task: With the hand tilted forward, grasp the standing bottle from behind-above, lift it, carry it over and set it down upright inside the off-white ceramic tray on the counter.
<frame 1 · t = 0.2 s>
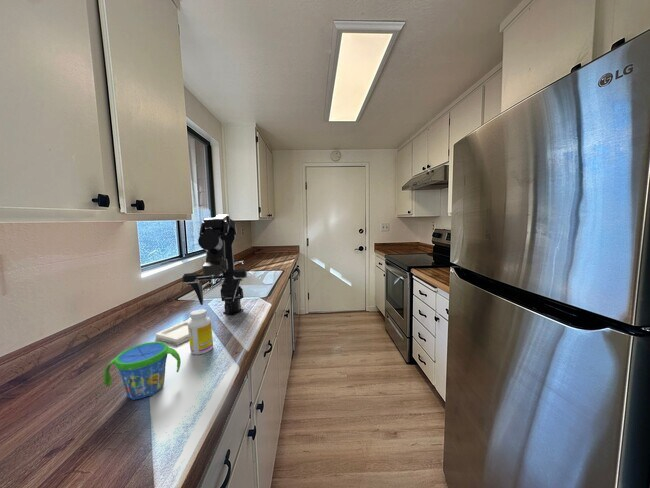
hand: (217, 303, 80), 15 cm above the worktop, tool tilted 15°, fingers open, 9 cm apart
supplement bottle: (202, 350, 81), on the worktop
snack cup: (146, 391, 62), on the worktop
tray: (182, 334, 93), on the worktop
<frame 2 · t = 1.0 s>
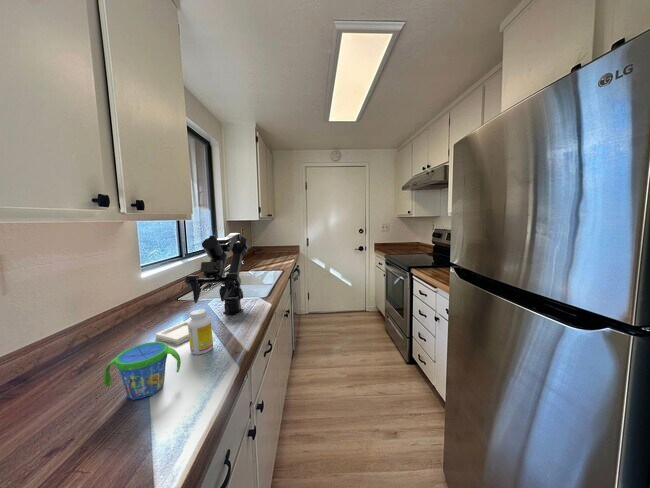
hand: (208, 301, 88), 13 cm above the worktop, tool tilted 45°, fingers open, 9 cm apart
nothing on the worktop moved.
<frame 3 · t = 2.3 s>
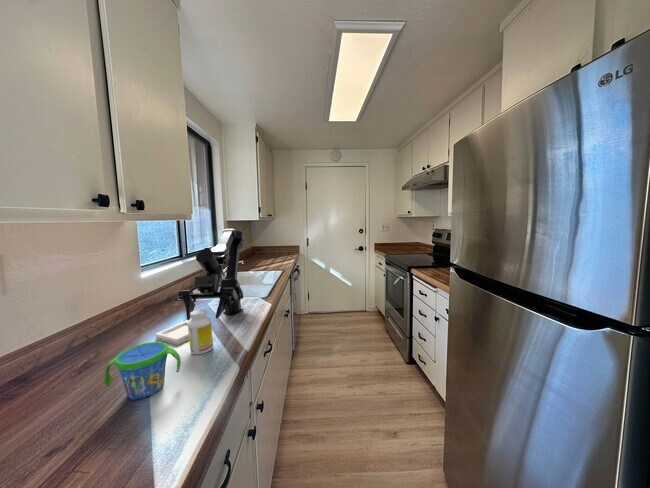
hand: (202, 319, 82), 9 cm above the worktop, tool tilted 45°, fingers open, 9 cm apart
nothing on the worktop moved.
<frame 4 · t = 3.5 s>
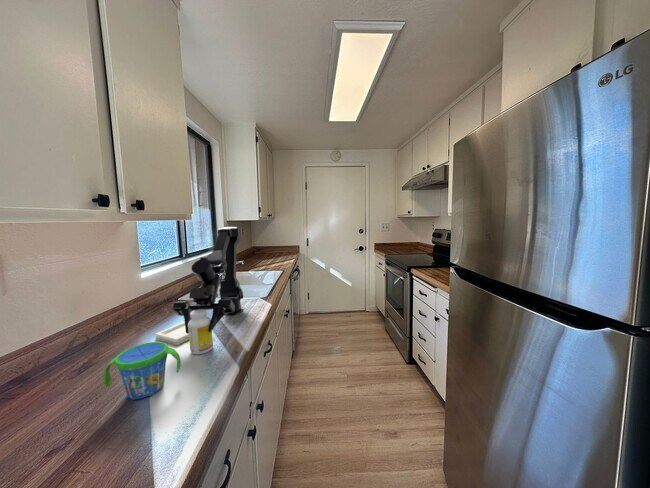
hand: (198, 332, 79), 7 cm above the worktop, tool tilted 45°, fingers closed on supplement bottle, 7 cm apart
supplement bottle: (202, 350, 81), on the worktop, touching gripper
everything else where it was.
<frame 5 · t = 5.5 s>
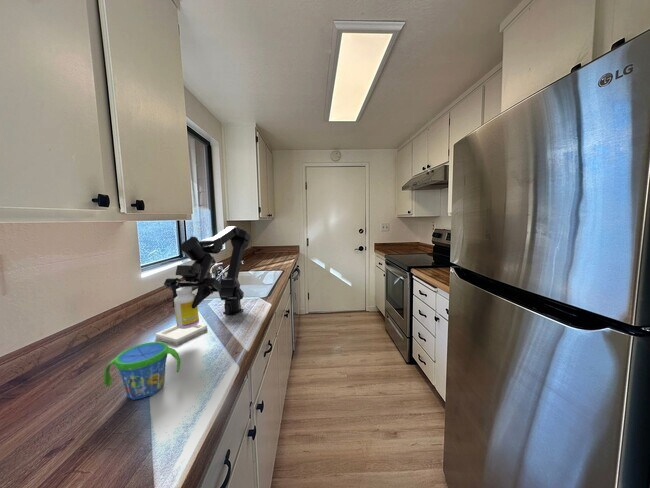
hand: (183, 307, 83), 13 cm above the worktop, tool tilted 45°, fingers closed on supplement bottle, 7 cm apart
supplement bottle: (188, 325, 85), point 7 cm above the worktop, touching gripper
everything else where it was.
when the fingers open (9 cm above the worktop, at t = 7.5 s): supplement bottle drops 1 cm, resting on tray.
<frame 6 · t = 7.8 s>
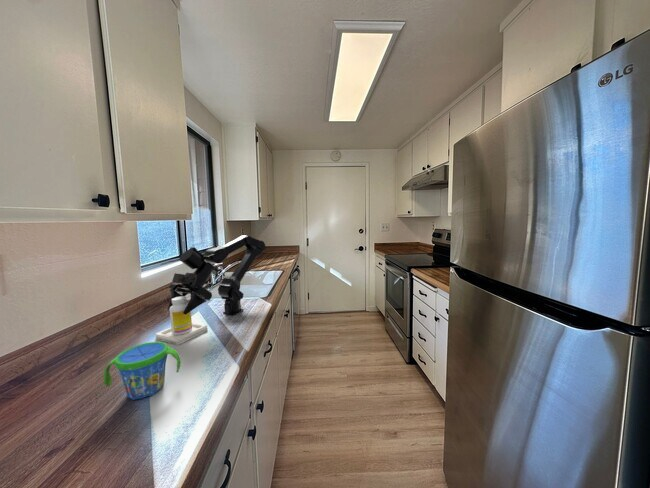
hand: (176, 312, 91), 9 cm above the worktop, tool tilted 45°, fingers open, 9 cm apart
supplement bottle: (182, 332, 93), point 1 cm above the worktop, touching tray
everything else where it was.
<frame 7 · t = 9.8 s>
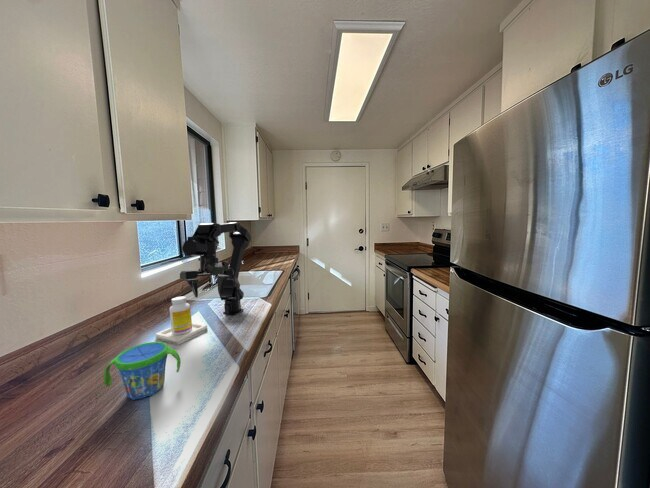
hand: (208, 295, 97), 13 cm above the worktop, tool pointing down, fingers open, 9 cm apart
nothing on the worktop moved.
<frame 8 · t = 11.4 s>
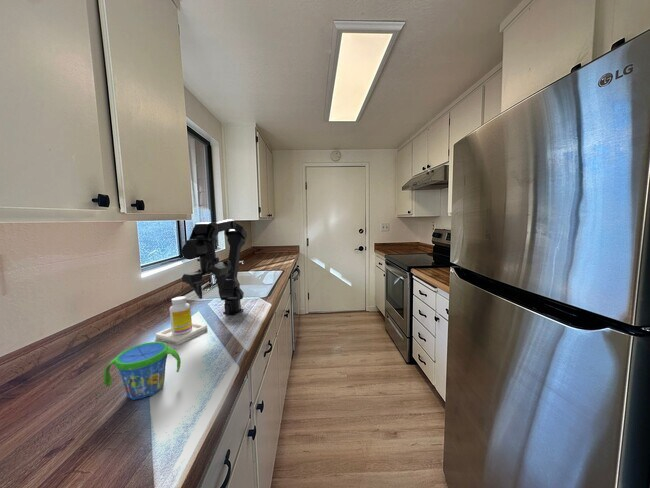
hand: (211, 295, 97), 13 cm above the worktop, tool pointing down, fingers open, 9 cm apart
nothing on the worktop moved.
at the end: supplement bottle inside the target area on the tray (0.1 cm from its centre), point 0.8 cm above the tray's base; supplement bottle tilted 0°; the gripper is holding nothing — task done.
